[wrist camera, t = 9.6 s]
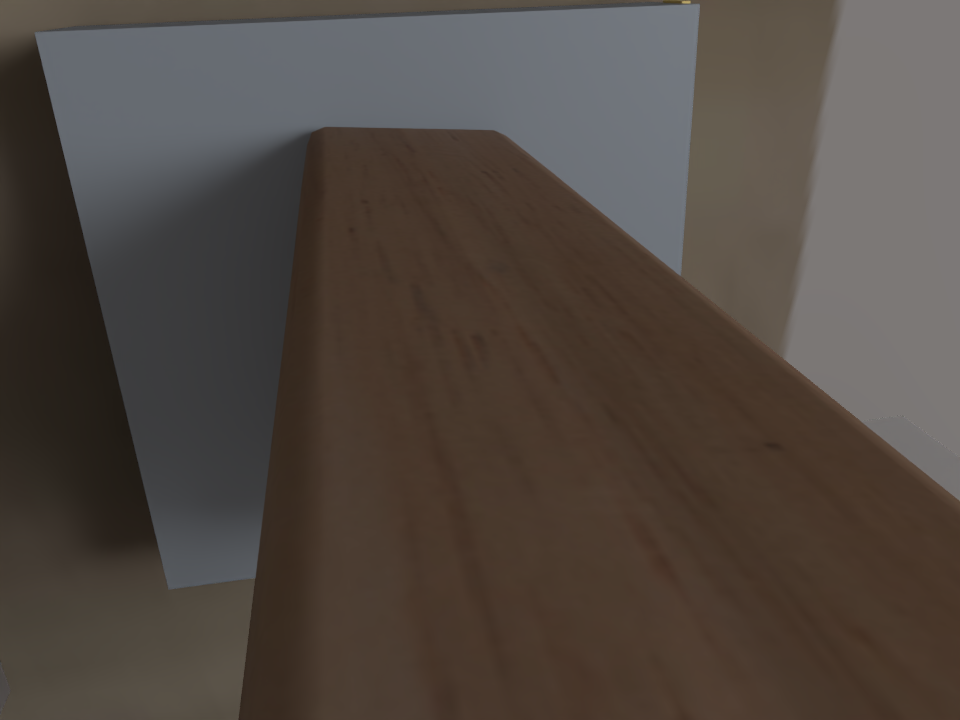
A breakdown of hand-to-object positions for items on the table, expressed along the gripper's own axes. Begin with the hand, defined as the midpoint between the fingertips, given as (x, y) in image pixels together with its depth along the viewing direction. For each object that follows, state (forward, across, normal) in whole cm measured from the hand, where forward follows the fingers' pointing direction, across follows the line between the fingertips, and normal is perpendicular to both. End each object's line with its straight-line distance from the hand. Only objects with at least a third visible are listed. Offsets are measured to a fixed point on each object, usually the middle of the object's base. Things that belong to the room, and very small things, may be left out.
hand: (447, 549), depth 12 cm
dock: (+12, 0, 0) cm, 12 cm away
